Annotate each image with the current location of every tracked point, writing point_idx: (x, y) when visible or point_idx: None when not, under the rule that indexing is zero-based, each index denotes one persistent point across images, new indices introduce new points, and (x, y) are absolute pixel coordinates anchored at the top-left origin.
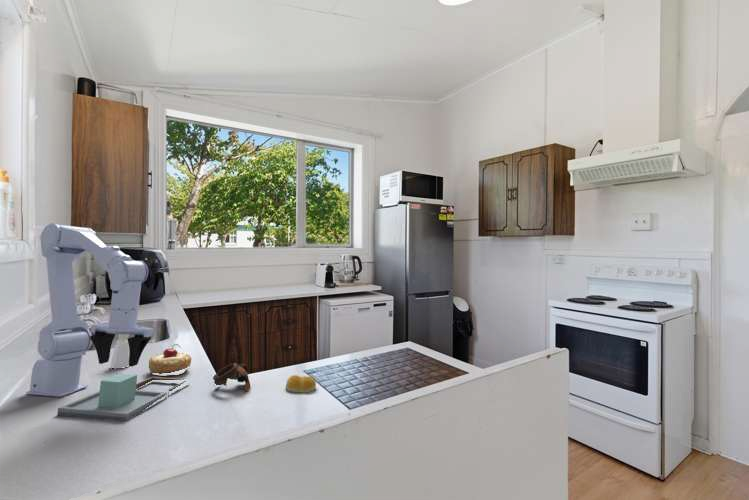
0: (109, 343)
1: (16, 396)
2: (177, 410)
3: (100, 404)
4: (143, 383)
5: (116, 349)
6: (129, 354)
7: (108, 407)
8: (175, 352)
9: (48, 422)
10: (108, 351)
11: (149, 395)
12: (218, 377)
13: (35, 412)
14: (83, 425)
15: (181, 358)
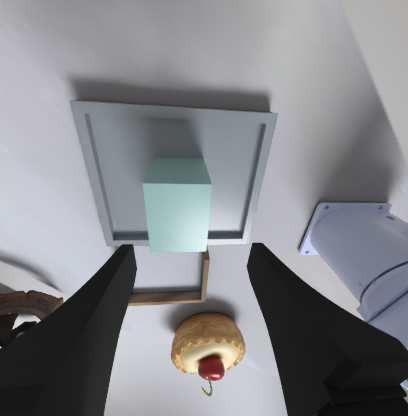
0: (278, 341)
1: (400, 192)
2: (23, 186)
3: (198, 159)
4: (202, 278)
5: None
6: (109, 281)
7: (175, 157)
8: (199, 372)
9: (263, 63)
10: (262, 301)
11: (143, 234)
12: (5, 309)
13: (326, 120)
14: (164, 55)
15: (182, 359)
